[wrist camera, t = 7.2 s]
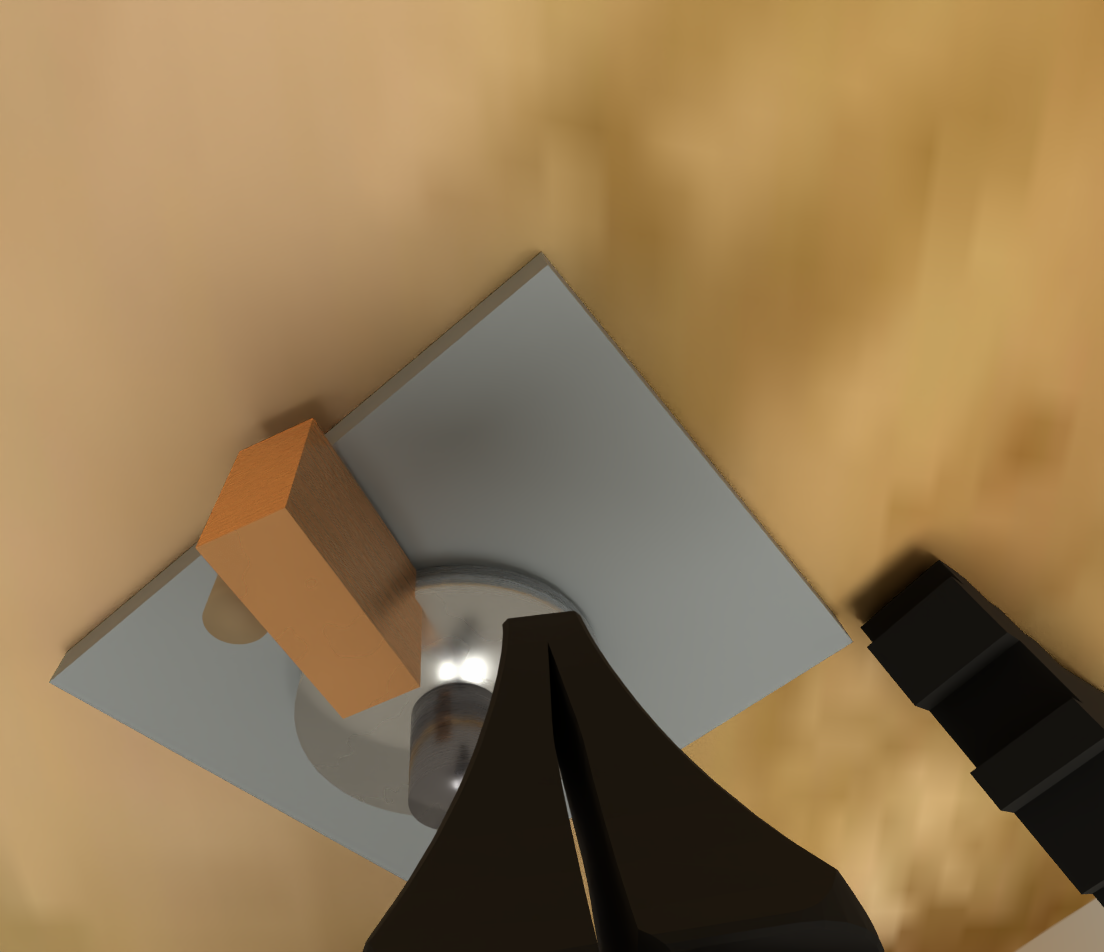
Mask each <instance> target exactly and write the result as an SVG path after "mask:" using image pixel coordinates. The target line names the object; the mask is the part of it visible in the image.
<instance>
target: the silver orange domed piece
mask: <svg viewBox="0 0 1104 952" xmlns="http://www.w3.org/2000/svg"><path fill="white" fill-rule="evenodd" d="M196 550H197V551H198V552H199V553H200V554H201V555H202V556H203V558H204V559H205V560H206V561H207V562H208V563H209V565H210V566H211V567H212V568H213V569H214V570H215V571H216V573H217V574H218V575H219V576H220V577H221V578H222V580H223V581H224V582H225V583H226V584H227V585H228V586H229V588H230V589H231V590H232V591H233V592H234V593H235V595H236V596H237V597H238V598H239V599H240V600H241V602H242V603H243V604H244V605H245V606H246V607H247V608H248V610H249V611H250V612H251V613H252V614H253V615H254V617H255V618H256V619H257V620H258V621H259V622H260V623H261V625H262V626H263V627H264V628H265V629H266V630H267V632H268V633H269V634H270V635H271V636H272V637H273V639H274V640H275V641H276V642H277V643H278V644H279V645H280V647H281V648H282V649H283V650H284V651H285V652H286V654H287V655H288V656H289V657H290V658H291V659H292V660H293V662H294V663H295V664H296V665H297V666H298V667H299V669H300V670H301V675H300V680H299V684H298V689H297V694H296V699H295V708H294V721H295V727H296V733H297V736H298V739H299V742H300V744H301V747H302V749H303V751H304V752H305V754H306V756H307V758H308V759H309V761H310V762H311V763H312V765H313V766H314V767H315V768H316V770H317V771H318V772H319V773H320V774H321V775H322V776H323V777H324V778H325V779H327V780H328V781H329V782H330V783H331V784H332V785H334V786H335V787H337V788H338V789H340V790H341V791H342V792H344V793H346V794H348V795H349V796H351V797H353V798H355V799H357V800H359V801H361V802H364V803H366V804H369V805H371V806H374V807H377V808H380V809H384V810H387V811H391V812H395V813H401V814H406V815H412V816H414V818H415V819H416V820H417V821H419V822H420V823H422V824H423V825H425V826H427V827H430V828H432V829H436V830H438V828H439V826H440V824H441V823H442V821H443V819H444V817H445V815H446V813H447V810H448V808H449V806H450V804H451V802H452V800H453V798H454V796H455V794H456V792H457V790H458V788H459V785H460V783H461V781H462V779H463V776H464V774H465V772H466V769H467V767H468V764H469V762H470V759H471V757H472V754H473V752H474V749H475V746H476V744H477V741H478V738H479V735H480V732H481V729H482V726H483V723H484V720H485V717H486V714H487V711H488V708H489V704H490V700H491V696H492V693H493V689H494V685H495V681H496V677H497V672H498V667H499V662H500V656H501V649H502V638H503V627H502V624H503V623H504V622H505V621H506V620H507V619H508V618H515V617H524V616H532V615H540V614H549V613H557V612H565V611H576V612H577V613H578V614H580V615H581V617H582V620H583V622H584V624H585V625H586V627H587V629H588V631H589V633H590V634H591V636H592V638H593V639H594V641H595V643H596V644H597V646H598V647H599V649H600V646H599V642H598V640H597V637H596V635H595V633H594V631H593V628H592V627H591V625H590V624H589V622H588V621H587V619H586V618H585V616H584V615H583V614H582V613H581V612H580V611H579V609H578V608H577V607H576V606H575V605H574V604H573V603H572V602H571V601H569V600H568V599H567V598H566V597H564V596H563V595H562V594H561V593H559V592H558V591H556V590H554V589H553V588H551V587H549V586H548V585H546V584H544V583H542V582H540V581H538V580H535V579H533V578H531V577H528V576H526V575H523V574H519V573H516V572H513V571H509V570H505V569H500V568H494V567H489V566H478V565H443V566H435V567H428V568H422V569H418V570H416V569H415V568H414V566H413V565H412V563H411V562H410V560H409V559H408V557H407V556H406V554H405V553H404V551H403V550H402V548H401V547H400V545H399V544H398V542H397V541H396V540H395V538H394V537H393V535H392V534H391V532H390V531H389V529H388V528H387V526H386V525H385V523H384V522H383V520H382V519H381V517H380V516H379V514H378V513H377V511H376V510H375V508H374V507H373V506H372V504H371V503H370V501H369V500H368V498H367V497H366V495H365V494H364V492H363V491H362V489H361V488H360V486H359V485H358V483H357V482H356V480H355V479H354V477H353V476H352V474H351V473H350V472H349V470H348V469H347V467H346V466H345V464H344V463H343V461H342V460H341V458H340V457H339V455H338V454H337V452H336V451H335V449H334V448H333V446H332V445H331V443H330V442H329V441H328V439H327V438H326V436H325V435H324V433H323V432H322V430H321V429H320V427H319V426H318V424H317V423H316V421H315V420H314V418H311V419H309V420H307V421H305V422H303V423H300V424H298V425H296V426H294V427H292V428H289V429H287V430H285V431H283V432H281V433H279V434H276V435H274V436H272V437H270V438H268V439H266V440H263V441H261V442H259V443H257V444H255V445H253V446H250V447H248V448H246V449H244V450H242V451H240V452H239V454H238V456H237V458H236V460H235V462H234V465H233V467H232V469H231V471H230V473H229V476H228V478H227V480H226V482H225V484H224V486H223V489H222V491H221V493H220V495H219V497H218V500H217V502H216V504H215V506H214V508H213V510H212V513H211V515H210V517H209V519H208V521H207V524H206V526H205V528H204V530H203V532H202V534H201V537H200V539H199V541H198V543H197V545H196ZM600 651H601V650H600ZM558 766H559V765H558ZM559 771H560V769H559ZM560 776H561V773H560ZM561 780H562V777H561Z"/></svg>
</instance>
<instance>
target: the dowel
mask: <svg viewBox="0 0 1104 952" xmlns="http://www.w3.org/2000/svg"><path fill="white" fill-rule="evenodd" d="M202 620H203V624H204V626H205V628H206V630H207V631H208V632H209V633H210V634H211V635H212V636H214V637H215V638H217V639H218V640H221V641H223V642H226V643H230V644H248V643H252V642H255V641H257V640H259V639H261V638H262V637H263V636H264V635H265V634H266V633H267V630H266V629H265V628H264V627H263V626H262V625H261V623H260V622H259V621H258V620H257V619H256V618H255V617H254V615H253V614H252V613H251V612H250V611H249V610H248V608H247V607H246V606H245V605H244V604H243V603H242V602H241V600H240V599H239V598H238V597H237V596H236V595H235V593H234V592H233V591H232V590H231V589H230V588H229V586H228V585H227V584H226V583H225V582H224V581H223V580H222V578H221V577H220V576H219V575H217V578H216V580H215V583H214V585H213V588H212V590H211V593H210V595H209V598H208V600H207V603H206V606H205V608H204V611H203V614H202Z"/></svg>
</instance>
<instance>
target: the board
mask: <svg viewBox="0 0 1104 952" xmlns="http://www.w3.org/2000/svg"><path fill="white" fill-rule="evenodd" d="M325 436H326V438H327V439H328V441H329V442H330V443H331V445H332V446H333V448H334V449H335V451H336V452H337V454H338V455H339V457H340V458H341V460H342V461H343V463H344V464H345V466H346V467H347V469H348V470H349V472H350V473H351V474H352V476H353V477H354V479H355V480H356V482H357V483H358V485H359V486H360V488H361V489H362V491H363V492H364V494H365V495H366V497H367V498H368V500H369V501H370V503H371V504H372V506H373V507H374V508H375V510H376V511H377V513H378V514H379V516H380V517H381V519H382V520H383V522H384V523H385V525H386V526H387V528H388V529H389V531H390V532H391V534H392V535H393V537H394V538H395V540H396V541H397V542H398V544H399V545H400V547H401V548H402V550H403V551H404V553H405V554H406V556H407V557H408V559H409V560H410V562H411V563H412V565H413V566H414V568H415V569H416V570H418V569H422V568H428V567H435V566H443V565H478V566H489V567H494V568H500V569H505V570H509V571H513V572H516V573H519V574H523V575H526V576H528V577H531V578H533V579H535V580H538V581H540V582H542V583H544V584H546V585H548V586H549V587H551V588H553V589H554V590H556V591H558V592H559V593H561V594H562V595H563V596H564V597H566V598H567V599H568V600H569V601H571V602H572V603H573V604H574V605H575V606H576V607H577V608H578V609H579V611H580V612H581V613H582V614H583V615H584V616H585V618H586V619H587V621H588V622H589V624H590V625H591V627H592V628H593V631H594V633H595V635H596V637H597V640H598V642H599V646H600V650H601V652H602V654H603V655H604V657H605V658H606V660H607V661H608V663H609V664H610V665H611V667H612V668H613V670H614V671H615V672H616V674H617V675H618V676H619V678H620V679H621V680H622V682H623V683H624V684H625V686H626V687H627V688H628V690H629V691H630V692H631V694H632V695H633V696H634V697H635V699H636V700H637V701H638V702H639V704H640V705H641V706H642V707H643V709H644V710H645V711H646V712H647V713H648V714H649V716H650V717H651V718H652V719H653V720H654V721H655V722H656V724H657V725H658V726H659V727H660V728H661V729H662V730H663V731H664V732H665V734H666V735H667V736H668V737H669V738H670V739H671V740H672V741H673V742H674V743H675V744H676V745H677V746H678V747H679V748H680V749H682V748H684V747H685V746H687V745H688V744H690V743H692V742H693V741H695V740H696V739H698V738H700V737H701V736H703V735H704V734H706V733H708V732H709V731H711V730H712V729H714V728H716V727H717V726H719V725H721V724H722V723H724V722H725V721H727V720H729V719H730V718H732V717H733V716H735V715H737V714H738V713H740V712H741V711H743V710H745V709H746V708H748V707H749V706H751V705H753V704H754V703H756V702H757V701H759V700H761V699H762V698H764V697H765V696H767V695H769V694H770V693H772V692H773V691H775V690H777V689H778V688H780V687H781V686H783V685H785V684H786V683H788V682H789V681H791V680H793V679H794V678H796V677H797V676H799V675H801V674H802V673H804V672H805V671H807V670H809V669H810V668H812V667H814V666H815V665H817V664H818V663H820V662H822V661H823V660H825V659H826V658H828V657H830V656H831V655H833V654H834V653H836V652H838V651H839V650H841V649H842V648H844V647H846V646H847V645H849V644H850V643H852V642H853V641H852V640H851V638H850V637H849V635H848V634H847V632H846V631H845V629H844V628H843V626H842V625H841V623H840V622H839V620H838V619H837V618H836V616H835V615H834V614H833V613H832V611H831V610H830V609H829V608H828V606H827V605H826V604H825V603H824V601H823V600H822V599H821V598H820V596H819V595H818V594H817V593H816V591H815V590H814V589H813V588H812V586H811V585H810V584H809V583H808V582H807V580H806V579H805V578H804V577H803V575H802V574H801V573H800V572H799V570H798V569H797V568H796V567H795V565H794V564H793V563H792V562H791V560H790V559H789V558H788V557H787V555H786V554H785V553H784V552H783V551H782V549H781V548H780V547H779V546H778V544H777V543H776V542H775V541H774V539H773V538H772V537H771V536H770V534H769V533H768V532H767V531H766V529H765V528H764V527H763V526H762V524H761V523H760V522H759V521H758V520H757V518H756V517H755V516H754V515H753V513H752V512H751V511H750V510H749V508H748V507H747V506H746V505H745V503H744V502H743V501H742V500H741V498H740V497H739V496H738V495H737V493H736V492H735V491H734V490H733V488H732V487H731V486H730V485H729V484H728V482H727V481H726V480H725V479H724V477H723V476H722V475H721V474H720V472H719V471H718V470H717V469H716V467H715V466H714V465H713V464H712V462H711V461H710V460H709V459H708V457H707V456H706V455H705V454H704V453H703V451H702V450H701V449H700V448H699V446H698V445H697V444H696V443H695V441H694V440H693V439H692V438H691V436H690V435H689V434H688V433H687V431H686V430H685V429H684V428H683V426H682V425H681V424H680V423H679V421H678V420H677V419H676V418H675V417H674V415H673V414H672V413H671V412H670V410H669V409H668V408H667V407H666V405H665V404H664V403H663V402H662V400H661V399H660V398H659V397H658V395H657V394H656V393H655V392H654V390H653V389H652V388H651V387H650V386H649V384H648V383H647V382H646V381H645V379H644V378H643V377H642V376H641V374H640V373H639V372H638V371H637V369H636V368H635V367H634V366H633V364H632V363H631V362H630V361H629V359H628V358H627V357H626V356H625V355H624V353H623V352H622V351H621V350H620V348H619V347H618V346H617V345H616V343H615V342H614V341H613V340H612V338H611V337H610V336H609V335H608V333H607V332H606V331H605V330H604V328H603V327H602V326H601V325H600V323H599V322H598V321H597V320H596V319H595V317H594V316H593V315H592V314H591V312H590V311H589V310H588V309H587V307H586V306H585V305H584V304H583V302H582V301H581V300H580V299H579V297H578V296H577V295H576V294H575V292H574V291H573V290H572V289H571V288H570V286H569V285H568V284H567V283H566V281H565V280H564V279H563V278H562V276H561V275H560V274H559V273H558V271H557V270H556V269H555V268H554V266H553V265H552V264H551V263H550V261H549V260H548V259H547V258H546V256H545V255H544V254H543V253H542V252H541V253H539V254H538V255H537V256H536V257H535V258H534V259H532V260H531V261H530V262H529V263H528V264H526V265H525V266H524V267H523V268H522V269H520V270H519V271H518V272H517V273H516V274H515V275H513V276H512V277H511V278H510V279H509V280H507V281H506V282H505V283H504V284H503V285H502V286H500V287H499V288H498V289H497V290H496V291H494V292H493V293H492V294H491V295H490V296H488V297H487V298H486V299H485V300H484V301H483V302H481V303H480V304H479V305H478V306H477V307H475V308H474V309H473V310H472V311H471V312H470V313H468V314H467V315H466V316H465V317H464V318H462V319H461V320H460V321H459V322H458V323H456V324H455V325H454V326H453V327H452V328H451V329H449V330H448V331H447V332H446V333H445V334H443V335H442V336H441V337H440V338H439V339H438V340H436V341H435V342H434V343H433V344H432V345H430V346H429V347H428V348H427V349H426V350H424V351H423V352H422V353H421V354H420V355H419V356H417V357H416V358H415V359H414V360H413V361H411V362H410V363H409V364H408V365H407V366H406V367H404V368H403V369H402V370H401V371H400V372H398V373H397V374H396V375H395V376H394V377H392V378H391V379H390V380H389V381H388V382H387V383H385V384H384V385H383V386H382V387H381V388H379V389H378V390H377V391H376V392H375V393H374V394H372V395H371V396H370V397H369V398H368V399H366V400H365V401H364V402H363V403H362V404H360V405H359V406H358V407H357V408H356V409H355V410H353V411H352V412H351V413H350V414H349V415H347V416H346V417H345V418H344V419H343V420H342V421H340V422H339V423H338V424H337V425H336V426H334V427H333V428H332V429H331V430H330V431H328V432H327V433H326V434H325ZM197 543H198V542H197ZM197 543H196V544H195V545H193V546H192V547H191V548H190V549H189V550H187V551H186V552H185V553H184V554H183V555H182V556H180V557H179V558H178V559H177V560H176V561H174V562H173V563H172V564H171V565H170V566H168V567H167V568H166V569H165V570H164V571H163V572H161V573H160V574H159V575H158V576H157V577H155V578H154V579H153V580H152V581H151V582H150V583H148V584H147V585H146V586H145V587H144V588H142V589H141V590H140V591H139V592H138V593H136V594H135V595H134V596H133V597H132V598H131V599H129V600H128V601H127V602H126V603H125V604H123V605H122V606H121V607H120V608H119V609H118V610H116V611H115V612H114V613H113V614H112V615H110V616H109V617H108V618H107V619H106V620H104V621H103V622H102V623H101V624H100V625H99V626H97V627H96V628H95V629H94V630H93V631H91V632H90V633H89V634H88V635H87V636H86V637H84V638H83V639H82V640H81V641H80V642H78V643H77V644H76V645H75V646H74V647H72V648H71V649H70V650H69V651H68V652H67V653H66V654H65V656H64V658H63V659H62V661H61V663H60V665H59V666H58V668H57V670H56V671H55V673H54V675H53V676H52V678H51V680H50V682H49V683H51V684H53V685H55V686H56V687H58V688H60V689H62V690H64V691H65V692H67V693H69V694H71V695H73V696H74V697H76V698H78V699H80V700H82V701H83V702H85V703H87V704H89V705H91V706H92V707H94V708H96V709H98V710H100V711H101V712H103V713H105V714H107V715H109V716H110V717H112V718H114V719H116V720H118V721H119V722H121V723H123V724H125V725H127V726H128V727H130V728H132V729H134V730H136V731H137V732H139V733H141V734H143V735H145V736H146V737H148V738H150V739H152V740H154V741H155V742H157V743H159V744H161V745H163V746H164V747H166V748H168V749H170V750H172V751H173V752H175V753H177V754H179V755H181V756H182V757H184V758H186V759H188V760H189V761H191V762H193V763H195V764H197V765H198V766H200V767H202V768H204V769H206V770H207V771H209V772H211V773H213V774H215V775H216V776H218V777H220V778H222V779H224V780H225V781H227V782H229V783H231V784H233V785H234V786H236V787H238V788H240V789H242V790H243V791H245V792H247V793H249V794H251V795H252V796H254V797H256V798H258V799H260V800H261V801H263V802H265V803H267V804H269V805H270V806H272V807H274V808H276V809H278V810H279V811H281V812H283V813H285V814H287V815H288V816H290V817H292V818H294V819H296V820H297V821H299V822H301V823H303V824H305V825H306V826H308V827H310V828H312V829H313V830H315V831H317V832H319V833H321V834H322V835H324V836H326V837H328V838H330V839H331V840H333V841H335V842H337V843H339V844H340V845H342V846H344V847H346V848H348V849H349V850H351V851H353V852H355V853H357V854H358V855H360V856H362V857H364V858H366V859H367V860H369V861H371V862H373V863H375V864H376V865H378V866H380V867H382V868H384V869H385V870H387V871H389V872H391V873H393V874H394V875H396V876H398V877H400V878H402V879H403V880H405V881H408V880H409V878H410V876H411V875H412V873H413V871H414V870H415V868H416V866H417V865H418V863H419V861H420V860H421V858H422V856H423V855H424V853H425V851H426V850H427V848H428V846H429V845H430V843H431V841H432V839H433V838H434V836H435V834H436V832H437V830H436V829H432V828H430V827H427V826H425V825H423V824H422V823H420V822H419V821H417V820H416V819H415V818H414V816H412V815H406V814H401V813H395V812H391V811H387V810H384V809H380V808H377V807H374V806H371V805H369V804H366V803H364V802H361V801H359V800H357V799H355V798H353V797H351V796H349V795H348V794H346V793H344V792H342V791H341V790H340V789H338V788H337V787H335V786H334V785H332V784H331V783H330V782H329V781H328V780H327V779H325V778H324V777H323V776H322V775H321V774H320V773H319V772H318V771H317V770H316V768H315V767H314V766H313V765H312V763H311V762H310V761H309V759H308V758H307V756H306V754H305V752H304V751H303V749H302V747H301V744H300V742H299V739H298V736H297V733H296V727H295V721H294V708H295V699H296V694H297V689H298V684H299V680H300V675H301V670H300V669H299V667H298V666H297V665H296V664H295V663H294V662H293V660H292V659H291V658H290V657H289V656H288V655H287V654H286V652H285V651H284V650H283V649H282V648H281V647H280V645H279V644H278V643H277V642H276V641H275V640H274V639H273V637H272V636H271V635H270V634H269V633H268V632H267V633H266V634H265V635H264V636H263V637H262V638H261V639H259V640H257V641H255V642H252V643H248V644H230V643H226V642H223V641H221V640H218V639H217V638H215V637H214V636H212V635H211V634H210V633H209V632H208V631H207V630H206V628H205V626H204V624H203V620H202V614H203V611H204V608H205V606H206V603H207V600H208V598H209V595H210V593H211V590H212V588H213V585H214V583H215V580H216V578H217V575H218V574H217V573H216V571H215V570H214V569H213V568H212V567H211V566H210V565H209V563H208V562H207V561H206V560H205V559H204V558H203V556H202V555H201V554H200V553H199V552H198V551H197V550H196V545H197ZM561 781H562V780H561ZM562 786H563V791H564V796H565V801H566V806H567V811H568V816H569V819H570V818H571V817H572V816H571V812H570V809H569V805H568V801H567V797H566V793H565V789H564V785H563V781H562Z"/></svg>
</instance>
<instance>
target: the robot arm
mask: <svg viewBox="0 0 1104 952" xmlns="http://www.w3.org/2000/svg"><path fill="white" fill-rule="evenodd" d="M502 627H503V638H502V649H501V656H500V662H499V667H498V672H497V677H496V681H495V685H494V689H493V693H492V696H491V700H490V704H489V708H488V711H487V714H486V717H485V720H484V723H483V726H482V729H481V732H480V735H479V738H478V741H477V744H476V746H475V749H474V752H473V754H472V757H471V759H470V762H469V764H468V767H467V769H466V772H465V774H464V776H463V779H462V781H461V783H460V785H459V788H458V790H457V792H456V794H455V796H454V798H453V800H452V802H451V804H450V806H449V808H448V810H447V813H446V815H445V817H444V819H443V821H442V823H441V824H440V826H439V828H438V830H437V832H436V834H435V836H434V838H433V839H432V841H431V843H430V845H429V846H428V848H427V850H426V851H425V853H424V855H423V856H422V858H421V860H420V861H419V863H418V865H417V866H416V868H415V870H414V871H413V873H412V875H411V876H410V878H409V880H408V881H407V883H406V885H405V886H404V888H403V889H402V891H401V892H400V894H399V895H398V897H397V898H396V900H395V901H394V902H393V904H392V905H391V907H390V908H389V910H388V911H387V912H386V914H385V915H384V917H383V918H382V920H381V921H380V922H379V924H378V925H377V927H376V928H375V930H374V931H373V932H372V934H371V935H370V937H369V938H368V940H367V941H366V943H365V946H364V949H363V952H884V949H883V946H882V944H881V942H880V940H879V937H878V935H877V932H876V930H875V928H874V926H873V924H872V922H871V920H870V919H869V917H868V915H867V913H866V912H865V910H864V909H863V907H862V905H861V904H860V902H859V901H858V899H857V898H856V896H855V894H854V893H853V891H852V890H851V889H850V887H849V886H848V884H847V883H846V881H845V880H844V878H843V877H842V875H841V874H840V873H839V871H838V870H837V869H835V868H834V867H832V866H830V865H829V864H827V863H826V862H824V861H822V860H821V859H819V858H818V857H816V856H815V855H813V854H811V853H810V852H808V851H807V850H805V849H803V848H802V847H800V846H799V845H797V844H796V843H794V842H793V841H791V840H790V839H788V838H787V837H785V836H784V835H782V834H781V833H780V832H778V831H777V830H776V829H774V828H773V827H771V826H770V825H769V824H767V823H766V822H765V821H763V820H762V819H760V818H759V817H758V816H756V815H755V814H754V813H753V812H751V811H750V810H749V809H748V808H747V807H745V806H744V805H743V804H742V803H740V802H739V801H738V800H737V799H735V798H734V797H733V796H732V795H731V794H729V793H728V792H727V791H726V790H724V789H723V788H722V787H721V786H720V785H718V784H717V783H716V782H715V781H714V780H713V779H711V778H710V777H709V776H708V775H707V774H706V773H705V772H704V771H703V770H702V769H701V768H699V767H698V766H697V765H696V764H695V763H694V762H693V761H692V760H691V759H690V758H689V757H688V756H687V755H686V754H685V753H684V752H683V751H682V750H681V749H680V748H679V747H678V746H677V745H676V744H675V743H674V742H673V741H672V740H671V739H670V738H669V737H668V736H667V735H666V734H665V732H664V731H663V730H662V729H661V728H660V727H659V726H658V725H657V724H656V722H655V721H654V720H653V719H652V718H651V717H650V716H649V714H648V713H647V712H646V711H645V710H644V709H643V707H642V706H641V705H640V704H639V702H638V701H637V700H636V699H635V697H634V696H633V695H632V694H631V692H630V691H629V690H628V688H627V687H626V686H625V684H624V683H623V682H622V680H621V679H620V678H619V676H618V675H617V674H616V672H615V671H614V670H613V668H612V667H611V665H610V664H609V663H608V661H607V660H606V658H605V657H604V655H603V654H602V652H601V651H600V649H599V647H598V646H597V644H596V643H595V641H594V639H593V638H592V636H591V634H590V633H589V631H588V629H587V627H586V625H585V624H584V622H583V620H582V617H581V615H580V614H578V613H577V612H576V611H565V612H557V613H549V614H540V615H532V616H524V617H515V618H508V619H507V620H506V621H505V622H504V623H503V624H502ZM558 765H559V766H558ZM559 769H560V771H559ZM560 773H561V776H560ZM561 777H562V781H563V785H564V789H565V793H566V797H567V801H568V805H569V809H570V812H571V816H572V820H573V824H574V828H575V832H576V836H577V840H578V844H579V847H580V851H581V855H582V859H583V864H584V868H585V873H586V878H587V882H588V887H589V894H590V900H591V906H592V912H593V918H594V924H595V930H596V935H595V931H594V927H593V923H592V919H591V915H590V910H589V906H588V902H587V898H586V893H585V889H584V885H583V880H582V876H581V872H580V867H579V863H578V858H577V853H576V849H575V844H574V839H573V835H572V830H571V826H570V821H569V816H568V811H567V806H566V801H565V796H564V791H563V786H562V781H561ZM596 937H597V939H596Z"/></svg>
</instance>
